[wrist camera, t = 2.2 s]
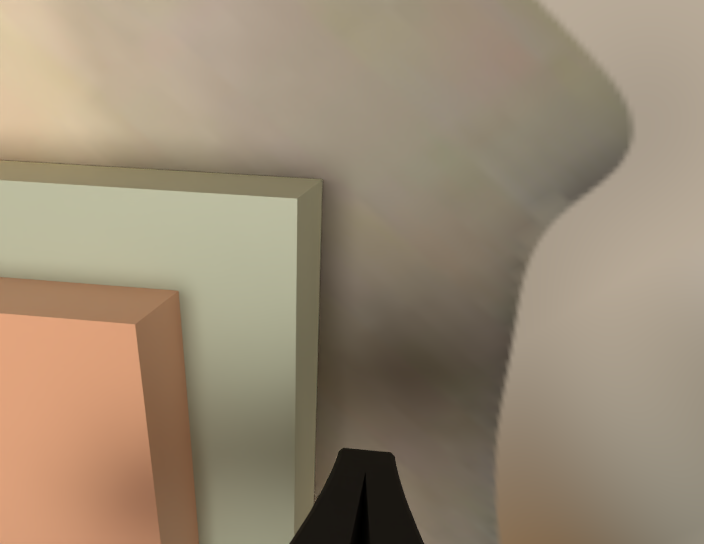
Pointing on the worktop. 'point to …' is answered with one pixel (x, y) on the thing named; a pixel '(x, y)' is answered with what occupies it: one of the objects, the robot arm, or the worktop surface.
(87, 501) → the peach rectangular tile
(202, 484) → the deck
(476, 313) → the worktop surface
